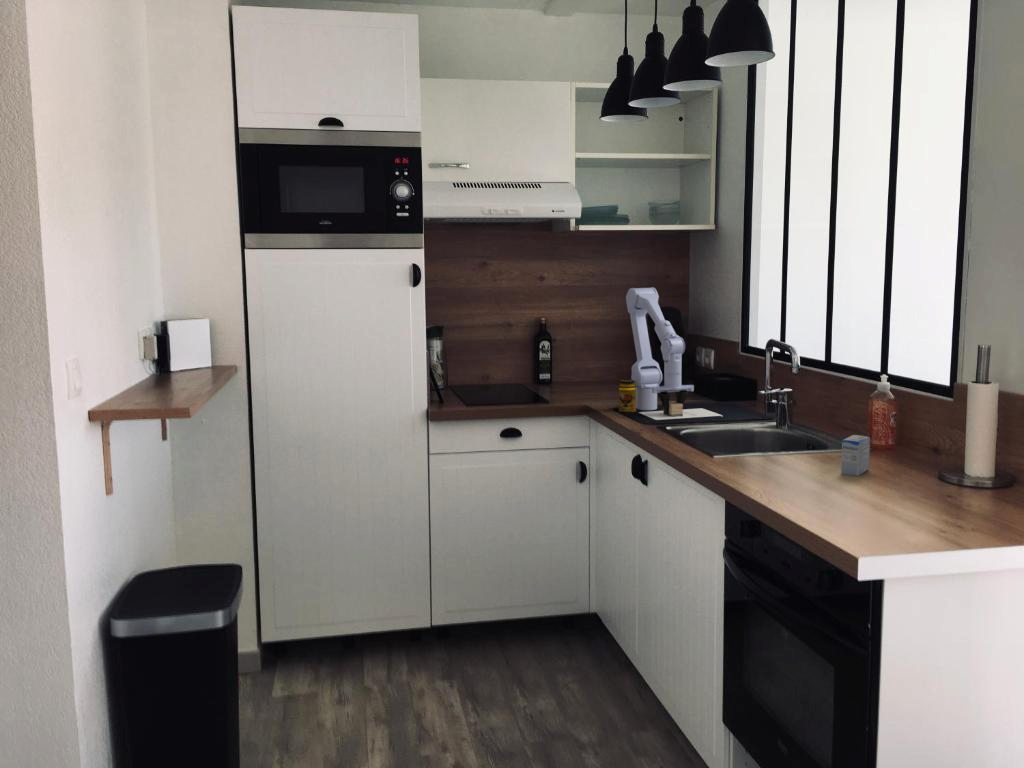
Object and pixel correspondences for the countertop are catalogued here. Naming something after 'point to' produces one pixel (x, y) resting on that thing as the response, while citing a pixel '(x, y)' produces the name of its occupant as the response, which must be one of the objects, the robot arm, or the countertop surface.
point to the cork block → (675, 409)
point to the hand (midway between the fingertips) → (672, 413)
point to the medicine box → (855, 455)
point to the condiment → (627, 396)
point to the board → (686, 414)
